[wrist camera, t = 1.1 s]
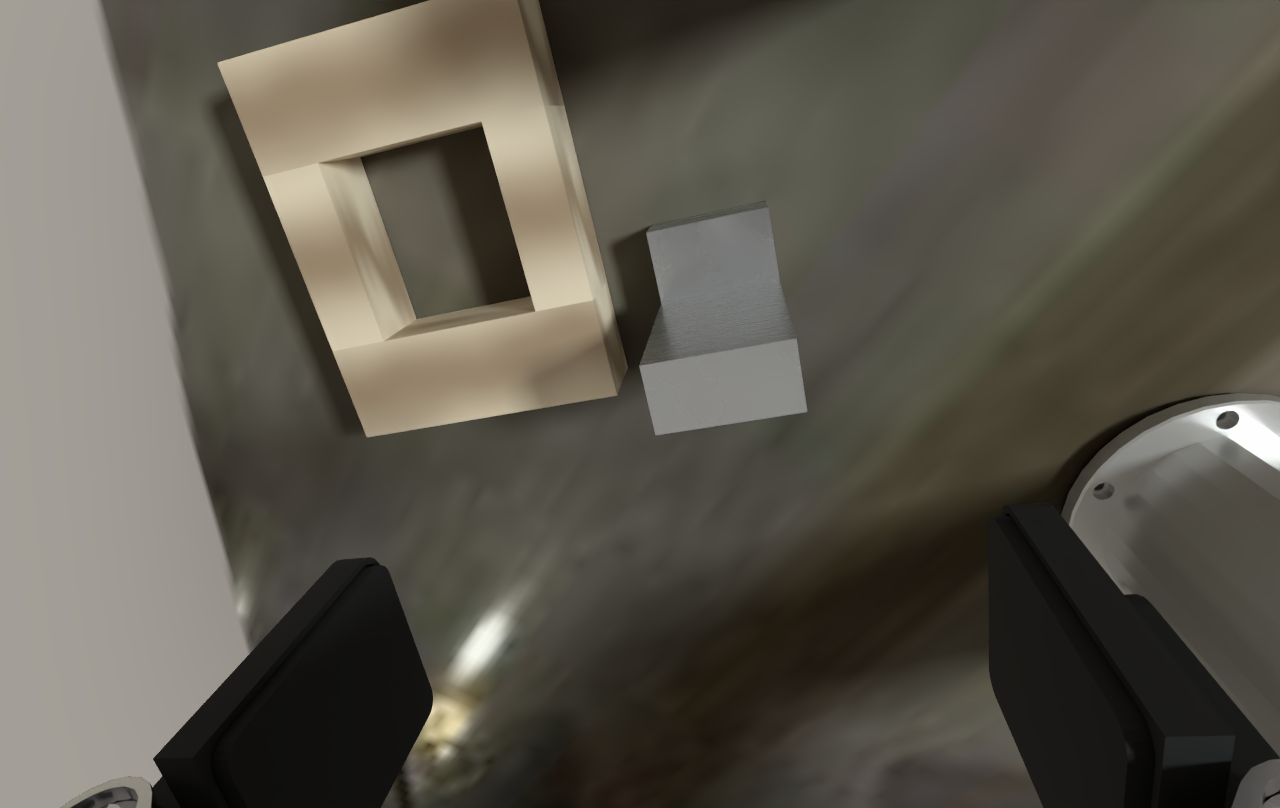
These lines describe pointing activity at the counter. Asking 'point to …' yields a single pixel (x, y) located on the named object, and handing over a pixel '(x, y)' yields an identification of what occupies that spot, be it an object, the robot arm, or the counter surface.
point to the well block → (355, 234)
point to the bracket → (719, 324)
